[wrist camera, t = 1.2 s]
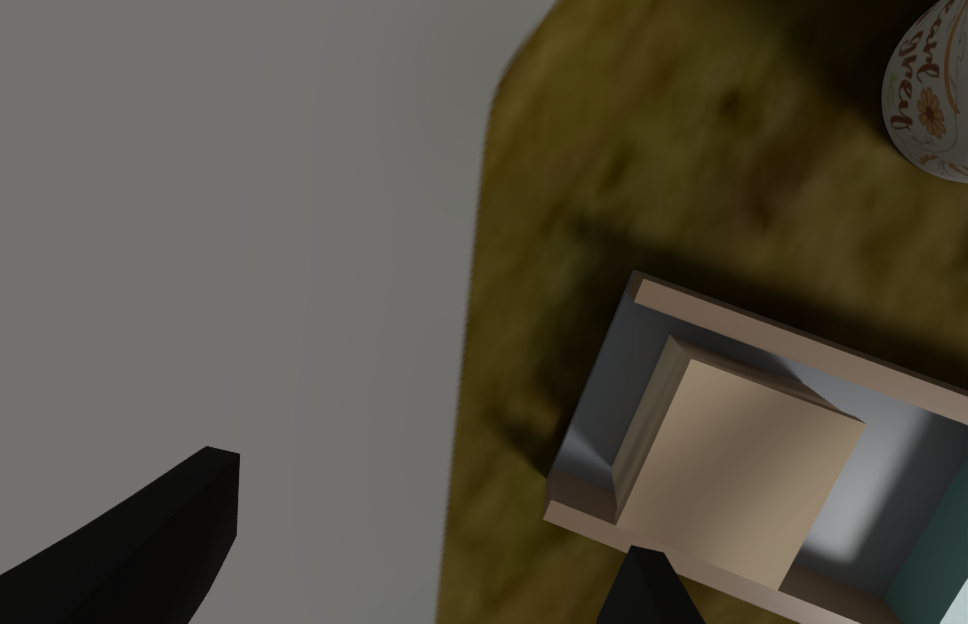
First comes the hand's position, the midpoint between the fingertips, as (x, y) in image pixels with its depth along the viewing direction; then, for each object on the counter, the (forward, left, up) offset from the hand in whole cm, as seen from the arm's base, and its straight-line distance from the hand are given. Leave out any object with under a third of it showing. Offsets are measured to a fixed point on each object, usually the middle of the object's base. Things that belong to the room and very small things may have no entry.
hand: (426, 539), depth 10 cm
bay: (-5, -9, -12) cm, 16 cm away
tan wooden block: (-4, -7, -12) cm, 14 cm away
